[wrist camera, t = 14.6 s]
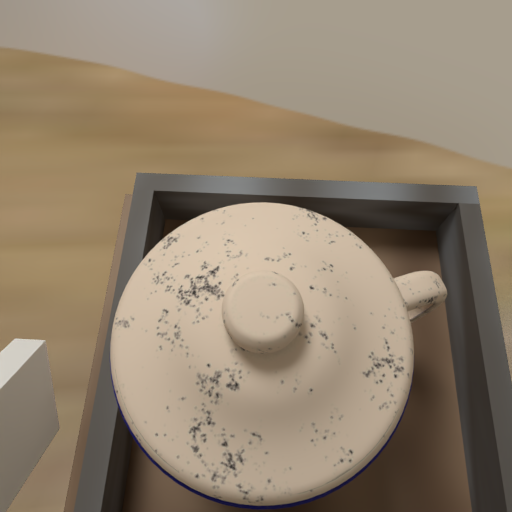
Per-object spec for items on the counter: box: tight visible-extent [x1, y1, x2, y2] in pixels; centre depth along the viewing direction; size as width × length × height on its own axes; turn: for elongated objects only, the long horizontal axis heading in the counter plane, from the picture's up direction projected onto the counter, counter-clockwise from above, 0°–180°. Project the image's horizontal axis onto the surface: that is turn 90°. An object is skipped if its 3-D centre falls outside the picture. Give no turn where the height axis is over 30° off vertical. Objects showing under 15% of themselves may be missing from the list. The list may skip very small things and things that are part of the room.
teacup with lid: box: [110, 202, 447, 510], centre depth 16 cm, size 12×9×12 cm
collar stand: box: [64, 173, 512, 512], centre depth 21 cm, size 20×18×5 cm
